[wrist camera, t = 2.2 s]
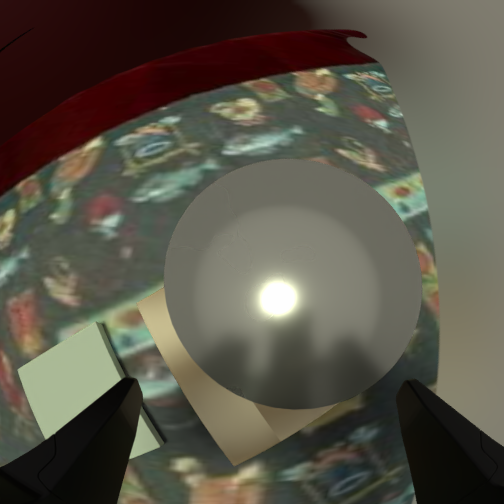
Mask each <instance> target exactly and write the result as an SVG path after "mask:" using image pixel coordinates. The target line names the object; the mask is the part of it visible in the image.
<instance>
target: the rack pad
mask: <svg viewBox="0 0 504 504" xmlns="http://www.w3.org/2000/svg"><path fill="white" fill-rule="evenodd" d="M18 373H19V376H20V379H21V382H22V385H23V387H24V390H25V393H26V396H27V398H28V401H29V403H30V406H31V408H32V411H33V413H34V415H35V418H36V420H37V422H38V424H39V426H40V429H41V431H42V433H43V435H44V437H45V439H47V438H49V437H50V436H51V435H53V434H55V432H56V431H58V430H59V429H60V428H62V427H63V426H64V425H65V424H67V423H68V422H69V421H70V420H72V419H73V418H74V417H75V416H77V415H78V414H79V413H80V412H82V411H83V410H84V409H85V408H87V407H88V406H89V405H90V404H92V403H93V402H94V401H95V400H96V399H98V398H99V397H100V396H101V395H103V394H104V393H105V392H106V391H108V390H109V389H110V388H111V387H112V386H114V385H115V384H116V383H117V382H119V381H120V380H121V379H122V378H124V377H126V376H125V374H124V372H123V370H122V368H121V366H120V364H119V362H118V360H117V358H116V356H115V353H114V351H113V349H112V347H111V345H110V342H109V340H108V338H107V335H106V333H105V331H104V328H103V326H102V324H101V323H98V322H94V323H92V324H91V325H89V326H87V327H86V328H84V329H82V330H81V331H79V332H77V333H76V334H74V335H73V336H71V337H69V338H68V339H66V340H64V341H63V342H61V343H59V344H58V345H56V346H55V347H53V348H51V349H50V350H48V351H47V352H45V353H43V354H42V355H40V356H38V357H37V358H35V359H34V360H32V361H30V362H29V363H27V364H26V365H24V366H23V367H21V368H19V369H18ZM163 444H164V442H163V440H162V439H161V437H160V436H159V434H158V432H157V431H156V429H155V428H154V426H153V424H152V423H151V421H150V419H149V418H148V416H147V414H146V413H145V411H144V409H143V408H142V406H141V410H140V416H139V421H138V427H137V432H136V437H135V441H134V444H133V447H132V451H131V454H130V458H129V459H131V458H133V457H136V456H139V455H141V454H144V453H146V452H149V451H151V450H154V449H156V448H159V447H161V446H162V445H163Z"/></svg>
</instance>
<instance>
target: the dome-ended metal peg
mask: <svg viewBox="0 0 504 504" xmlns="http://www.w3.org/2000/svg"><path fill="white" fill-rule="evenodd" d="M164 291H165V298H166V305H167V309H168V312H169V316H170V319H171V322H172V325H173V327H174V329H175V331H176V334H177V336H178V338H179V340H180V342H181V343H182V345H183V346H184V348H185V349H186V351H187V352H188V354H189V355H190V357H191V358H192V359H193V360H194V361H195V363H196V364H197V365H198V366H199V367H200V368H201V369H202V370H203V371H204V372H205V373H206V374H207V375H208V376H209V377H211V378H212V379H213V380H214V381H215V382H217V383H218V384H219V385H221V386H222V387H224V388H226V389H227V390H229V391H231V392H232V393H234V394H236V395H238V396H240V397H242V398H245V399H247V400H249V401H252V402H254V403H258V404H262V405H265V406H269V407H273V408H282V409H292V410H299V409H315V408H320V407H325V406H330V405H334V404H337V403H339V402H342V401H345V400H348V399H350V398H352V397H354V396H356V395H358V394H360V393H362V392H363V391H365V390H367V389H368V388H370V387H371V386H372V385H374V384H375V383H376V382H378V381H379V380H380V379H381V378H382V377H383V376H384V375H385V374H386V373H387V372H388V371H389V370H390V369H391V368H392V367H393V366H394V365H395V364H396V362H397V361H398V360H399V358H400V357H401V355H402V354H403V353H404V351H405V349H406V347H407V345H408V344H409V342H410V340H411V338H412V335H413V333H414V330H415V327H416V325H417V321H418V317H419V313H420V308H421V299H422V276H421V269H420V263H419V259H418V255H417V252H416V249H415V246H414V243H413V241H412V238H411V236H410V234H409V232H408V230H407V228H406V226H405V225H404V223H403V221H402V220H401V218H400V217H399V215H398V214H397V213H396V211H395V210H394V209H393V207H392V206H391V205H390V204H389V203H388V202H387V201H386V200H385V199H384V198H383V197H382V196H381V195H380V194H379V193H378V192H377V191H375V190H374V189H373V188H372V187H371V186H369V185H368V184H366V183H365V182H363V181H362V180H360V179H359V178H357V177H355V176H353V175H351V174H350V173H348V172H346V171H343V170H341V169H338V168H336V167H333V166H330V165H327V164H323V163H320V162H315V161H309V160H301V159H274V160H268V161H262V162H258V163H254V164H250V165H247V166H244V167H242V168H239V169H237V170H234V171H232V172H230V173H228V174H227V175H225V176H223V177H221V178H219V179H218V180H217V181H215V182H214V183H212V184H211V185H210V186H208V187H207V188H206V189H205V190H204V191H203V192H202V193H201V194H200V195H198V196H197V197H196V198H195V200H194V201H193V202H192V203H191V204H190V206H189V207H188V208H187V209H186V211H185V212H184V214H183V216H182V217H181V219H180V220H179V222H178V224H177V226H176V228H175V230H174V233H173V235H172V237H171V240H170V243H169V247H168V250H167V254H166V261H165V268H164Z"/></svg>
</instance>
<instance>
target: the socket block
mask: <svg viewBox="0 0 504 504" xmlns="http://www.w3.org/2000/svg"><path fill="white" fill-rule="evenodd" d="M136 304H137V306H138V309H139V311H140V313H141V315H142V317H143V319H144V321H145V323H146V325H147V327H148V329H149V331H150V333H151V335H152V337H153V339H154V341H155V343H156V345H157V347H158V349H159V351H160V352H161V354H162V356H163V358H164V360H165V362H166V363H167V365H168V367H169V369H170V371H171V372H172V374H173V376H174V378H175V379H176V381H177V383H178V384H179V386H180V388H181V389H182V391H183V393H184V394H185V396H186V398H187V399H188V401H189V402H190V404H191V406H192V407H193V409H194V410H195V412H196V413H197V415H198V416H199V418H200V420H201V421H202V423H203V424H204V425H205V427H206V428H207V430H208V431H209V433H210V434H211V436H212V437H213V439H214V440H215V441H216V443H217V444H218V446H219V447H220V448H221V450H222V451H223V452H224V454H225V455H226V456H227V458H228V459H229V460H230V462H231V463H232V464H233V466H236V465H238V464H240V463H242V462H244V461H246V460H248V459H250V458H252V457H254V456H255V455H257V454H259V453H261V452H263V451H265V450H267V449H268V448H270V447H272V446H274V445H275V444H277V443H279V442H281V441H282V440H284V439H286V438H287V437H289V436H291V435H292V434H294V433H296V432H297V431H299V430H300V429H302V428H303V427H305V426H307V425H308V424H310V423H311V422H313V421H314V420H316V419H317V418H319V417H320V416H322V415H323V414H324V413H326V412H327V411H329V410H330V409H331V408H333V407H334V406H336V405H337V404H338V403H337V404H334V405H330V406H325V407H320V408H315V409H299V410H292V409H282V408H273V407H269V406H265V405H262V404H258V403H254V402H252V401H249V400H247V399H245V398H242V397H240V396H238V395H236V394H234V393H232V392H231V391H229V390H227V389H226V388H224V387H222V386H221V385H219V384H218V383H217V382H215V381H214V380H213V379H212V378H211V377H209V376H208V375H207V374H206V373H205V372H204V371H203V370H202V369H201V368H200V367H199V366H198V365H197V364H196V363H195V361H194V360H193V359H192V358H191V357H190V355H189V354H188V352H187V351H186V349H185V348H184V346H183V345H182V343H181V342H180V340H179V338H178V336H177V334H176V331H175V329H174V327H173V325H172V322H171V319H170V316H169V312H168V309H167V305H166V298H165V291H164V287H163V288H162V289H160V290H158V291H157V292H155V293H153V294H151V295H150V296H148V297H146V298H145V299H143V300H141V301H139V302H138V303H136ZM339 403H340V402H339Z"/></svg>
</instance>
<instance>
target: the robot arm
mask: <svg viewBox="0 0 504 504" xmlns="http://www.w3.org/2000/svg"><path fill="white" fill-rule="evenodd" d="M142 400H143V394H142V391H141V388H140V385H139V383H138V380H137V379H136V378H132V377H124V378H122V379H121V380H120V381H119V382H117V383H116V384H115V385H114V386H112V387H111V388H110V389H109V390H108V391H106V392H105V393H104V394H103V395H101V396H100V397H99V398H98V399H96V400H95V401H94V402H93V403H92V404H90V405H89V406H88V407H87V408H85V409H84V410H83V411H82V412H80V413H79V414H78V415H77V416H75V417H74V418H73V419H72V420H70V421H69V422H68V423H67V424H65V425H64V426H63V427H62V428H60V429H59V430H58V431H56V432H55V434H53V435H51V436H50V437H49V438H47V439H46V440H45V441H43V442H42V443H41V444H39V445H38V446H36V447H35V448H33V449H32V450H30V451H29V452H27V453H25V454H24V455H22V456H20V457H19V458H17V459H15V460H13V461H12V462H10V463H8V464H6V465H4V466H2V467H0V504H117V501H118V497H119V493H120V490H121V486H122V482H123V479H124V475H125V471H126V468H127V464H128V461H129V458H130V454H131V451H132V447H133V444H134V441H135V437H136V432H137V427H138V421H139V416H140V410H141V405H142ZM396 403H397V408H398V414H399V421H400V427H401V433H402V438H403V442H404V446H405V450H406V454H407V458H408V463H409V467H410V471H411V476H412V481H413V486H414V491H415V496H416V501H417V504H504V447H503V446H502V445H500V444H499V443H497V442H496V441H495V440H493V439H492V438H490V437H489V436H488V435H487V434H485V433H484V432H483V431H480V429H479V428H477V427H476V426H475V425H474V424H472V423H471V422H470V421H469V420H467V419H466V418H465V417H464V416H462V415H461V414H460V413H458V412H457V411H456V410H455V409H453V408H452V407H451V406H450V405H448V404H447V403H446V402H445V401H443V400H442V399H441V398H440V397H438V396H437V395H436V394H434V393H433V392H432V391H431V390H429V389H428V388H427V387H426V386H424V385H423V384H422V383H420V382H419V381H418V380H416V379H409V380H405V381H404V383H403V384H402V386H401V388H400V390H399V392H398V393H397V396H396Z"/></svg>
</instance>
